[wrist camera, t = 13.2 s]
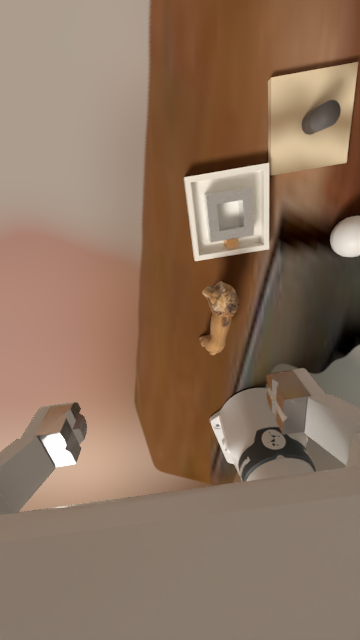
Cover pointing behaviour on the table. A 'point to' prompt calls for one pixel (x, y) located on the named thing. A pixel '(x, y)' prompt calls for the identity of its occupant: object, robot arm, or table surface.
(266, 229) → the tray
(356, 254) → the white egg
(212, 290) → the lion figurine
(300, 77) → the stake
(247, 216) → the ring
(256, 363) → the table surface
